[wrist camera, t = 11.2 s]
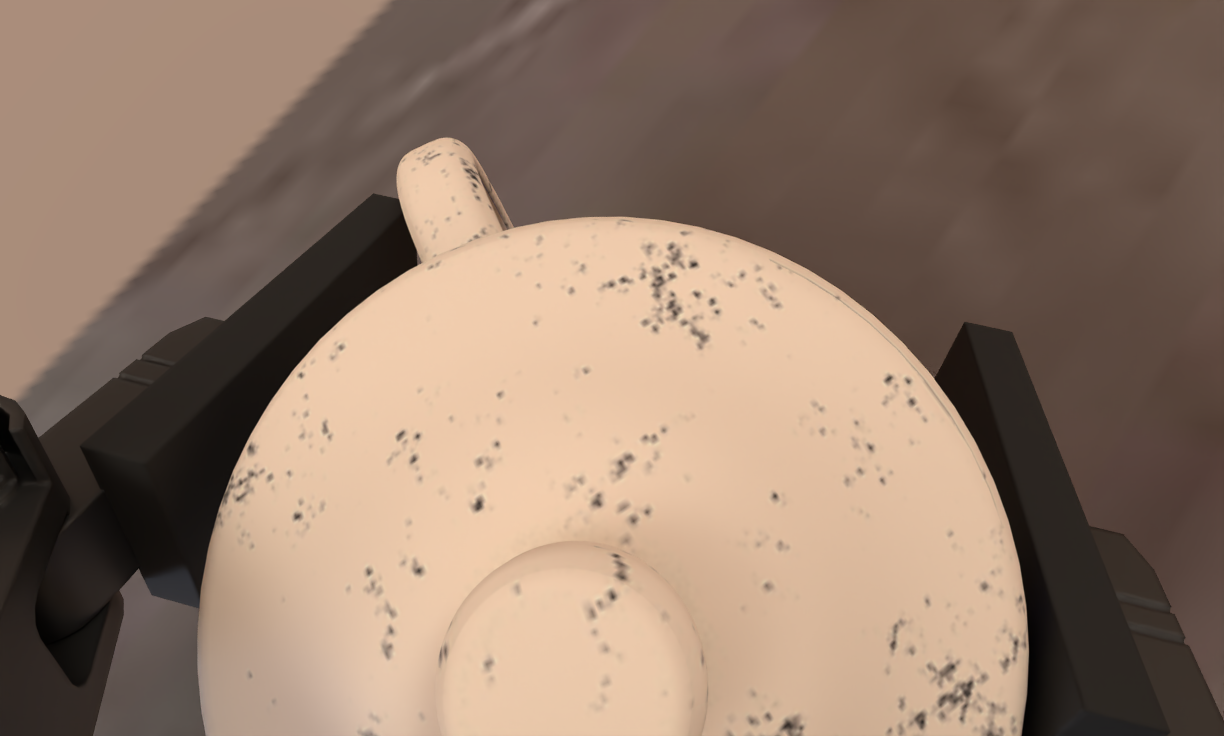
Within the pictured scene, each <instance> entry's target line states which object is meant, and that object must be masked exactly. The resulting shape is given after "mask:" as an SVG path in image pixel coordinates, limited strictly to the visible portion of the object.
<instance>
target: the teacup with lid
mask: <svg viewBox="0 0 1224 736" xmlns="http://www.w3.org/2000/svg"><path fill="white" fill-rule="evenodd" d="M397 190H398V196H399V200H400V204H401V208H402V211H403V215H404V218H405V221H406V223H407V226H408V229H409V232H410V234H411V237H412V239H413V242H414V244H415V247H416V249H417V252H418V254H419V256H420V259H421V261H422V264H420V265H418V266H416V267H414V268H412V269H410V270H408V271H407V272H405V273H404V274H402V275H400V276H399V277H397V278H396V279H394V280H393V281H391V282H390V283H388V284H387V285H385V286H383V287H382V288H380V289H379V290H377V291H376V292H375V293H373V294H372V295H371V296H369V297H368V298H367V299H366V300H364V301H363V302H362V303H361V304H359V305H358V306H357V307H355V308H354V309H353V310H352V311H350V312H349V313H348V314H347V315H346V316H344V317H343V318H342V319H341V320H340V321H339V322H338V323H337V324H336V325H335V326H334V327H333V328H332V329H331V330H330V331H329V332H328V333H326V334H325V335H324V336H323V337H322V338H321V339H320V340H319V341H318V342H317V343H316V345H315V346H314V347H313V348H312V349H311V350H310V351H309V353H308V354H307V355H306V356H305V357H304V358H303V359H302V360H301V362H300V363H299V364H298V365H297V366H296V367H295V368H294V370H293V371H292V372H291V374H290V375H289V377H288V378H287V379H286V381H285V382H284V383H283V385H282V386H281V387H280V389H279V390H278V392H277V393H276V394H275V396H274V397H273V398H272V400H271V401H270V403H269V405H268V406H267V408H266V410H265V411H264V413H263V415H262V416H261V418H260V420H259V421H258V423H257V425H256V426H255V428H254V430H253V431H252V433H251V435H250V437H249V439H248V441H247V443H246V445H245V447H244V449H243V451H242V453H241V456H240V458H239V460H238V462H237V464H236V466H235V468H234V470H233V473H232V475H231V478H230V481H229V483H228V486H227V489H226V491H225V494H224V497H223V499H222V502H221V505H220V507H219V511H218V514H217V518H216V522H215V525H214V529H213V533H212V536H211V540H210V543H209V547H208V553H207V558H206V564H205V569H204V575H203V580H202V586H201V595H200V606H199V617H198V629H197V640H198V680H199V690H200V701H201V712H202V717H203V722H204V728H205V733H206V736H1022V729H1023V722H1024V715H1025V707H1026V700H1027V687H1028V662H1029V643H1028V627H1027V610H1026V601H1025V595H1024V589H1023V582H1022V576H1021V570H1020V563H1019V560H1018V556H1017V552H1016V548H1015V544H1014V540H1013V536H1012V532H1011V529H1010V525H1009V521H1008V518H1007V515H1006V513H1005V510H1004V507H1003V504H1002V502H1001V499H1000V496H999V493H998V491H997V488H996V485H995V482H994V480H993V478H992V476H991V474H990V472H989V469H988V467H987V465H986V463H985V461H984V459H983V457H982V455H981V453H980V450H979V448H978V446H977V444H976V442H975V441H974V439H973V437H972V435H971V434H970V432H969V430H968V429H967V427H966V425H965V424H964V422H963V420H962V419H961V417H960V415H959V414H958V412H957V410H956V409H955V407H954V406H953V404H952V403H951V401H950V400H949V399H948V397H947V396H946V395H945V393H944V392H943V391H942V389H941V388H940V386H939V385H938V384H937V382H936V381H935V380H934V378H933V377H932V376H931V374H930V373H929V372H928V371H927V369H926V368H925V367H924V366H923V365H922V364H921V363H920V362H919V360H918V359H917V358H916V357H915V356H914V355H913V354H912V353H911V351H910V350H909V349H908V348H907V347H906V346H905V345H904V344H903V342H901V341H900V340H899V339H898V338H897V337H896V336H895V335H894V334H893V333H892V332H891V331H890V330H889V329H888V328H886V327H885V326H884V325H883V324H882V323H881V322H880V321H879V320H878V319H877V318H876V317H875V316H874V315H872V314H871V313H870V312H868V311H867V310H866V309H865V308H863V307H862V306H861V305H859V304H858V303H857V302H855V301H854V300H853V299H852V298H850V297H849V296H848V295H846V294H845V293H844V292H842V291H841V290H840V289H838V288H836V287H835V286H833V285H832V284H830V283H828V282H827V281H825V280H824V279H822V278H821V277H819V276H817V275H816V274H814V273H813V272H811V271H809V270H808V269H806V268H804V267H802V266H800V265H798V264H796V263H794V262H792V261H790V260H788V259H786V258H784V257H782V256H780V255H778V254H776V253H774V252H772V251H770V250H767V249H764V248H762V247H759V246H757V245H754V244H752V243H749V242H747V241H744V240H741V239H739V238H736V237H733V236H729V235H726V234H722V233H719V232H715V231H712V230H708V229H704V228H701V227H696V226H691V225H685V224H680V223H675V222H669V221H664V220H654V219H643V218H631V217H583V218H573V219H563V220H554V221H546V222H541V223H536V224H531V225H526V226H521V227H516V228H514V227H513V225H512V223H511V221H510V219H509V217H508V215H507V213H506V211H505V210H504V208H503V206H502V204H501V202H500V200H499V198H498V196H497V194H496V192H495V191H494V189H493V187H492V185H491V183H490V181H489V180H488V178H487V176H486V174H485V172H484V171H483V169H482V167H481V165H480V164H479V162H478V160H477V159H476V157H475V156H474V154H473V153H472V152H471V150H470V149H469V148H468V147H467V146H466V145H464V144H463V143H462V142H460V141H458V140H456V139H452V138H440V139H437V140H434V141H432V142H430V143H427V144H425V145H423V146H421V147H419V148H417V149H414V150H413V151H411V152H409V153H408V154H406V155H405V156H404V157H403V158H402V160H401V162H400V164H399V166H398V170H397Z"/></svg>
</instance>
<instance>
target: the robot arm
mask: <svg viewBox="0 0 1224 736" xmlns="http://www.w3.org/2000/svg"><path fill="white" fill-rule="evenodd" d="M416 266H417V249H416V247H415V244H414V242H413V239H412V237H411V234H410V232H409V229H408V226H407V223H406V221H405V218H404V215H403V211H402V208H401V204H400V200H399V199H396V198H391V197H387V196H382V195H378V194H372V195H371V196H370V197H369V198H368V199H366V200H365V201H364V202H363V203H362V204H361V205H359V206H358V207H357V208H356V209H355V210H354V211H352V212H351V213H350V214H349V215H348V216H347V217H345V218H344V219H343V220H342V221H341V222H340V223H338V224H337V225H336V226H335V227H334V228H333V229H331V230H330V231H329V232H328V233H327V234H326V235H324V236H323V237H322V238H321V239H320V240H319V241H317V242H316V243H315V244H314V245H313V246H312V247H310V248H309V249H308V250H307V251H306V252H305V253H303V254H302V255H301V256H300V257H299V258H298V259H296V260H295V261H294V262H293V263H292V264H291V265H289V266H288V267H287V268H286V269H285V270H284V271H283V272H281V273H280V274H279V275H278V276H277V277H276V278H274V279H273V280H272V281H271V282H270V283H269V284H267V285H266V286H265V287H264V288H263V289H262V290H260V291H259V292H258V293H257V294H256V295H255V296H253V297H252V298H251V299H250V300H249V301H248V302H246V303H245V304H244V305H243V306H242V307H241V308H239V309H238V310H237V311H236V312H235V313H234V314H232V315H231V316H230V317H229V318H228V319H227V320H225V321H221V320H217V319H213V318H209V317H204V318H202V319H200V320H198V321H195V322H193V323H191V324H189V325H186V326H184V327H182V328H179V329H177V330H175V331H173V332H170V333H169V334H167V335H166V336H165V337H164V338H162V339H161V340H160V341H159V342H157V343H156V344H155V345H154V346H152V347H151V348H150V349H149V350H148V351H146V352H145V353H144V354H143V355H142V359H141V360H137V359H136V360H135V361H134V362H133V363H131V364H130V365H129V366H128V367H126V368H125V369H124V370H123V371H121V372H120V373H119V374H120V375H119V377H118V378H113V379H111V380H110V381H109V382H108V383H106V384H105V385H104V386H103V387H101V388H100V389H99V390H98V391H96V392H95V393H94V394H93V395H91V396H90V397H89V398H88V399H86V400H85V401H84V402H83V403H81V404H80V405H79V406H78V407H76V408H75V409H74V410H73V411H71V412H70V413H69V414H68V415H66V416H65V417H64V418H63V419H61V420H60V421H59V422H58V423H57V424H55V425H54V426H53V427H52V428H50V429H49V430H48V431H47V432H45V433H44V434H43V435H42V436H40V437H39V438H38V437H37V435H36V433H35V431H34V429H33V427H32V425H31V424H30V422H29V420H28V418H27V416H26V414H25V412H24V411H23V410H22V409H21V407H20V406H19V405H18V403H17V402H16V401H15V400H12V399H9V398H6V397H4V396H1V395H0V736H93V733H94V729H95V725H96V721H97V717H98V713H99V709H100V705H101V701H102V697H103V693H104V690H105V686H106V682H107V678H108V674H109V670H110V666H111V662H112V658H113V654H114V650H115V646H116V642H117V638H118V634H119V631H120V627H121V623H122V619H123V615H124V599H123V597H122V595H121V593H120V591H119V590H120V589H121V587H122V586H123V585H124V584H125V583H126V582H127V581H128V580H129V579H130V577H131V576H132V575H133V574H134V573H135V572H136V571H137V570H138V568H139V570H140V572H141V574H142V576H143V578H144V580H145V582H146V584H147V586H148V588H149V590H150V592H151V595H153V596H157V597H161V598H164V599H168V600H171V601H175V602H178V603H182V604H185V605H189V606H193V607H196V608H199V606H200V595H201V586H202V580H203V575H204V569H205V564H206V558H207V553H208V547H209V543H210V540H211V536H212V533H213V529H214V525H215V522H216V518H217V514H218V511H219V507H220V505H221V502H222V499H223V497H224V494H225V491H226V489H227V486H228V483H229V481H230V478H231V475H232V473H233V470H234V468H235V466H236V464H237V462H238V460H239V458H240V456H241V453H242V451H243V449H244V447H245V445H246V443H247V441H248V439H249V437H250V435H251V433H252V431H253V430H254V428H255V426H256V425H257V423H258V421H259V420H260V418H261V416H262V415H263V413H264V411H265V410H266V408H267V406H268V405H269V403H270V401H271V400H272V398H273V397H274V396H275V394H276V393H277V392H278V390H279V389H280V387H281V386H282V385H283V383H284V382H285V381H286V379H287V378H288V377H289V375H290V374H291V372H292V371H293V370H294V368H295V367H296V366H297V365H298V364H299V363H300V362H301V360H302V359H303V358H304V357H305V356H306V355H307V354H308V353H309V351H310V350H311V349H312V348H313V347H314V346H315V345H316V343H317V342H318V341H319V340H320V339H321V338H322V337H323V336H324V335H325V334H326V333H328V332H329V331H330V330H331V329H332V328H333V327H334V326H335V325H336V324H337V323H338V322H339V321H340V320H341V319H342V318H343V317H344V316H346V315H347V314H348V313H349V312H350V311H352V310H353V309H354V308H355V307H357V306H358V305H359V304H361V303H362V302H363V301H364V300H366V299H367V298H368V297H369V296H371V295H372V294H373V293H375V292H376V291H377V290H379V289H380V288H382V287H383V286H385V285H387V284H388V283H390V282H391V281H393V280H394V279H396V278H397V277H399V276H400V275H402V274H404V273H405V272H407V271H408V270H410V269H412V268H414V267H416ZM934 380H935V381H936V382H937V384H938V385H939V386H940V388H941V389H942V391H943V392H944V393H945V395H946V396H947V397H948V399H949V400H950V401H951V403H952V404H953V406H954V407H955V409H956V410H957V412H958V414H959V415H960V417H961V419H962V420H963V422H964V424H965V425H966V427H967V429H968V430H969V432H970V434H971V435H972V437H973V439H974V441H975V442H976V444H977V446H978V448H979V450H980V453H981V455H982V457H983V459H984V461H985V463H986V465H987V467H988V469H989V472H990V474H991V476H992V478H993V480H994V482H995V485H996V488H997V491H998V493H999V496H1000V499H1001V502H1002V504H1003V507H1004V510H1005V513H1006V515H1007V518H1008V521H1009V525H1010V529H1011V532H1012V536H1013V540H1014V544H1015V548H1016V552H1017V556H1018V560H1019V563H1020V570H1021V576H1022V582H1023V589H1024V595H1025V601H1026V610H1027V627H1028V643H1029V662H1028V687H1027V700H1026V707H1025V715H1024V722H1023V729H1022V736H1224V720H1223V718H1222V716H1221V714H1220V712H1219V710H1218V707H1217V705H1216V703H1215V701H1214V699H1213V697H1212V694H1211V692H1210V690H1209V688H1208V686H1207V684H1206V681H1205V679H1204V677H1203V675H1202V673H1201V670H1200V668H1199V666H1198V664H1197V662H1196V660H1195V657H1194V655H1193V653H1192V651H1191V649H1190V647H1189V646H1188V645H1185V644H1184V639H1185V636H1184V634H1183V631H1182V629H1181V627H1180V625H1179V623H1178V621H1177V618H1176V616H1175V614H1172V613H1170V608H1171V605H1170V603H1169V601H1168V599H1167V597H1166V594H1165V592H1164V590H1163V588H1162V586H1161V584H1160V581H1159V579H1158V577H1157V575H1156V573H1155V571H1154V569H1153V568H1152V567H1151V566H1150V564H1149V563H1148V562H1147V561H1146V560H1145V559H1144V558H1143V556H1142V555H1141V554H1140V553H1139V552H1138V551H1137V549H1136V548H1135V547H1134V546H1133V545H1132V544H1131V543H1130V541H1129V540H1128V539H1127V538H1126V537H1125V536H1124V534H1120V533H1116V532H1112V531H1108V530H1104V529H1099V528H1095V527H1091V526H1089V525H1088V522H1087V520H1086V517H1085V515H1084V512H1083V510H1082V507H1081V505H1080V502H1079V500H1078V497H1077V494H1076V492H1075V489H1074V487H1073V484H1072V482H1071V479H1070V477H1069V474H1068V472H1067V469H1066V467H1065V464H1064V462H1063V459H1062V457H1061V454H1060V452H1059V449H1058V447H1057V444H1056V442H1055V439H1054V437H1053V434H1052V431H1051V429H1050V426H1049V424H1048V421H1047V419H1046V416H1045V414H1044V411H1043V409H1042V406H1041V404H1040V401H1039V399H1038V396H1037V394H1036V391H1035V389H1034V386H1033V384H1032V381H1031V379H1030V376H1029V373H1028V371H1027V368H1026V366H1025V363H1024V361H1023V358H1022V356H1021V353H1020V351H1019V348H1018V346H1017V343H1016V341H1015V338H1014V336H1013V333H1012V332H1009V331H1005V330H1000V329H995V328H991V327H986V326H982V325H977V324H972V323H968V322H964V324H963V326H962V328H961V330H960V332H959V333H958V335H957V337H956V339H955V341H954V343H953V345H952V347H951V349H950V351H949V352H948V354H947V356H946V358H945V360H944V362H943V364H942V366H941V368H940V370H939V372H938V373H937V375H936V377H935V379H934Z"/></svg>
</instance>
